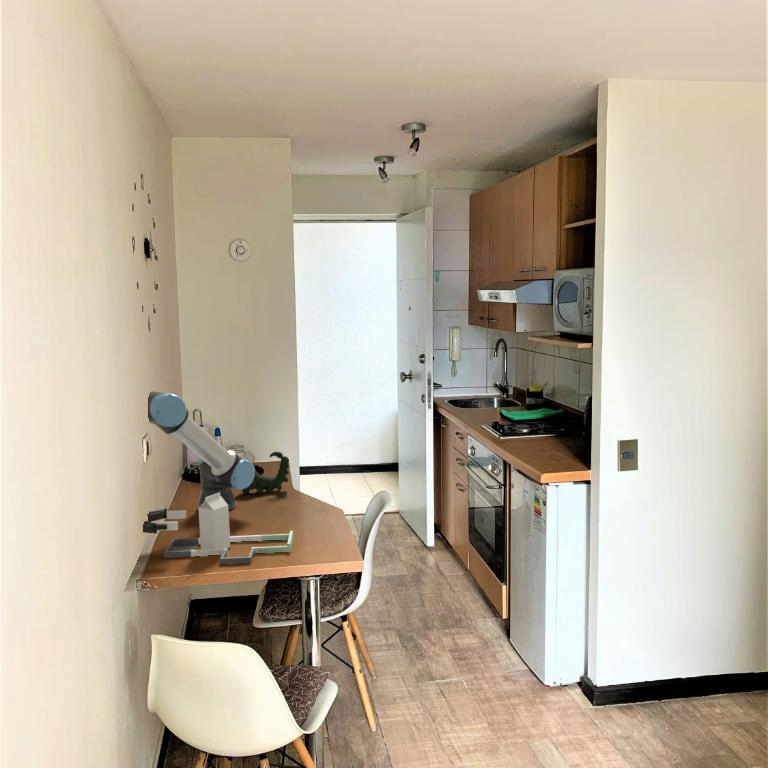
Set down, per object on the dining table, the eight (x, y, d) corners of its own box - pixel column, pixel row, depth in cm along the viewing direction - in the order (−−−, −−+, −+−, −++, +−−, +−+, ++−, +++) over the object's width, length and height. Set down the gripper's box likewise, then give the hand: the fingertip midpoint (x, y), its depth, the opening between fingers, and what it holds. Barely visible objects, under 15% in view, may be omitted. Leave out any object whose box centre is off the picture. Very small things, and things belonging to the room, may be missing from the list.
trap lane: (173, 544, 270) (172, 536, 269) (293, 539, 272) (292, 530, 271) (157, 567, 247) (156, 558, 246) (288, 561, 249) (288, 552, 249)
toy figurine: (286, 491, 344) (229, 491, 338) (288, 449, 342) (231, 448, 336) (288, 496, 335) (230, 496, 329) (290, 453, 333) (231, 453, 327)
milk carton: (230, 547, 265) (227, 493, 262) (216, 553, 259) (213, 498, 256) (215, 544, 268) (212, 491, 266) (200, 550, 262) (197, 496, 260)
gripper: (129, 522, 273) (189, 520, 274) (108, 544, 249) (174, 542, 250) (128, 501, 272) (188, 499, 274) (106, 522, 248) (173, 519, 249)
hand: (182, 519), depth 262 cm, fingers open, 13 cm apart
